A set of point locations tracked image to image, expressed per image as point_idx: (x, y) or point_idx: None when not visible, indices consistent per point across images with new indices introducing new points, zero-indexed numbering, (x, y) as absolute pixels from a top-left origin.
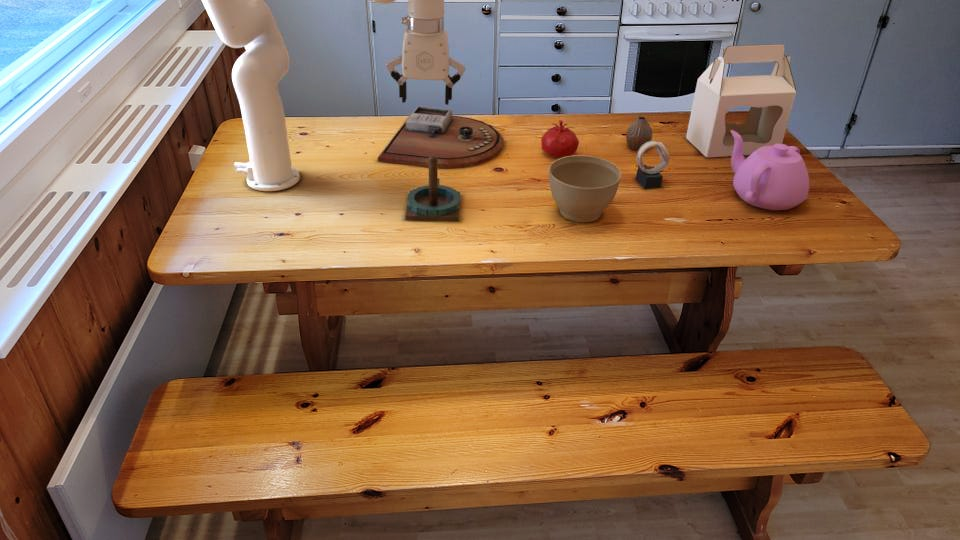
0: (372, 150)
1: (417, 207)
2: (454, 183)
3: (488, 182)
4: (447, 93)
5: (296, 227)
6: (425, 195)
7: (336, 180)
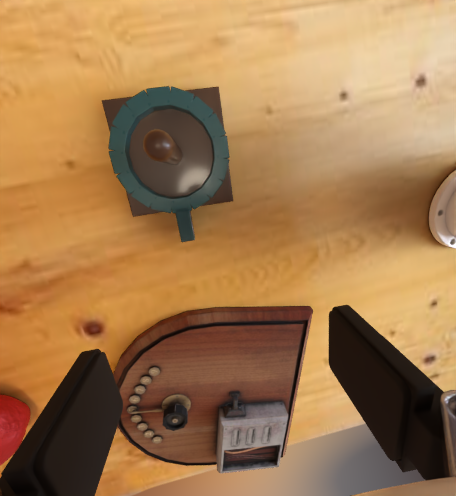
0: (323, 338)
1: (194, 97)
2: (160, 261)
3: (97, 279)
4: (47, 416)
5: (420, 22)
6: (198, 186)
7: (367, 226)
